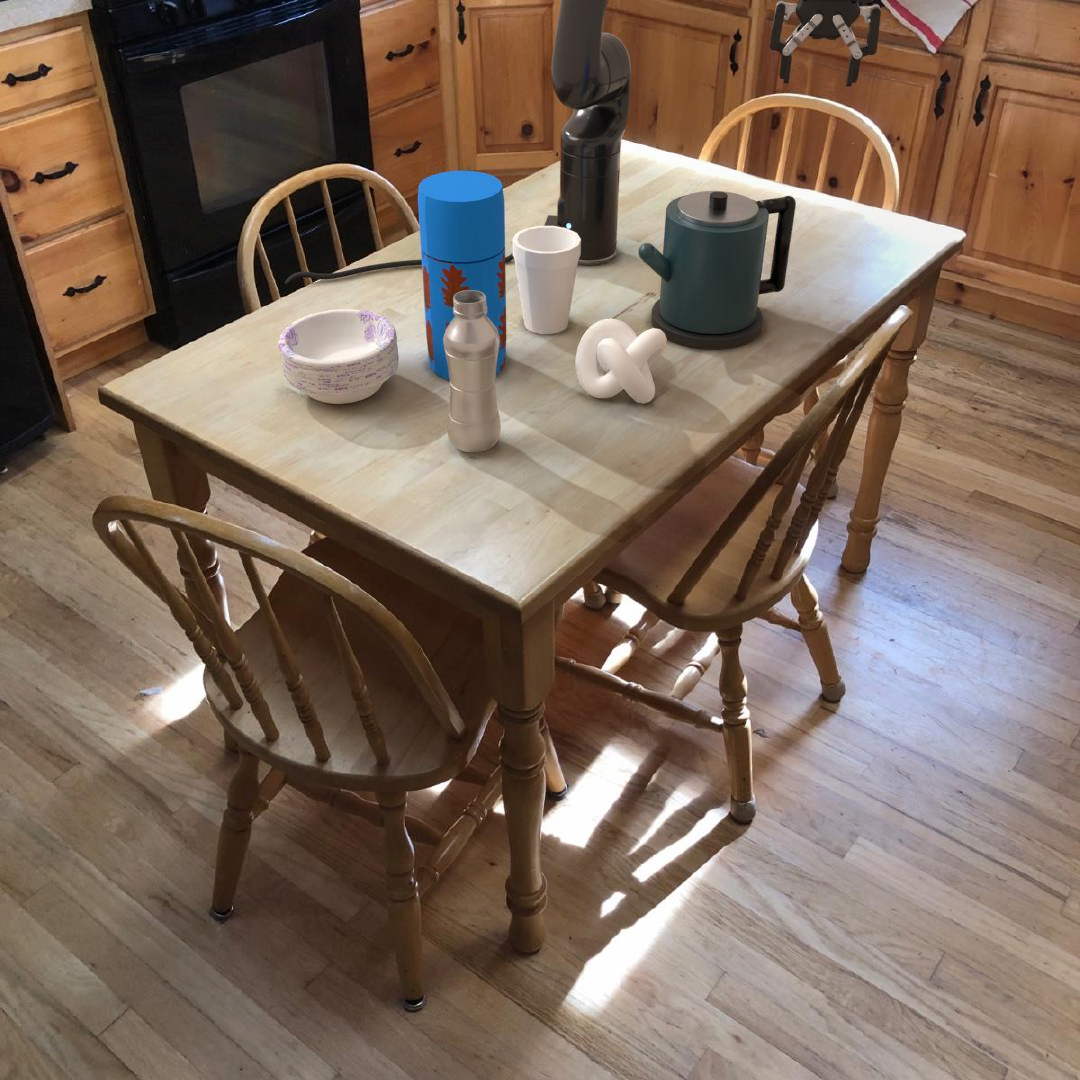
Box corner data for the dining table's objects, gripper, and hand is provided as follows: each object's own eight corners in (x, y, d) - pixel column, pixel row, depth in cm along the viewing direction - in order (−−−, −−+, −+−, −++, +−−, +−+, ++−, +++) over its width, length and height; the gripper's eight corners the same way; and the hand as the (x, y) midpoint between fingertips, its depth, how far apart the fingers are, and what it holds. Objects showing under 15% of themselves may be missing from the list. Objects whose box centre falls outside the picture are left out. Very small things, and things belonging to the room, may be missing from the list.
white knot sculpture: (678, 412, 153) (683, 350, 147) (587, 421, 151) (589, 358, 145) (656, 369, 161) (660, 309, 156) (570, 377, 160) (571, 316, 154)
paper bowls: (265, 380, 159) (257, 327, 154) (364, 348, 166) (359, 296, 161) (319, 430, 149) (312, 375, 144) (422, 393, 156) (418, 339, 151)
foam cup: (588, 317, 173) (591, 232, 166) (562, 344, 167) (564, 258, 159) (530, 304, 177) (529, 221, 169) (502, 331, 170) (501, 245, 162)
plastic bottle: (446, 431, 149) (438, 285, 136) (500, 429, 149) (497, 283, 137) (447, 460, 144) (439, 310, 131) (503, 458, 144) (500, 308, 132)
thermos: (496, 386, 158) (492, 205, 142) (418, 378, 159) (406, 198, 144) (513, 348, 166) (512, 173, 151) (440, 340, 168) (430, 167, 152)
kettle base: (646, 345, 167) (647, 334, 166) (655, 294, 179) (656, 285, 178) (761, 353, 165) (762, 343, 164) (762, 302, 177) (763, 292, 176)
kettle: (655, 346, 163) (663, 225, 152) (615, 302, 173) (621, 187, 162) (805, 319, 169) (823, 201, 158) (758, 278, 179) (772, 166, 169)
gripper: (780, -40, 152) (765, 89, 162) (893, -36, 150) (871, 95, 160) (779, -52, 158) (765, 73, 168) (889, -49, 156) (867, 78, 166)
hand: (817, 83), depth 164 cm, fingers open, 8 cm apart
